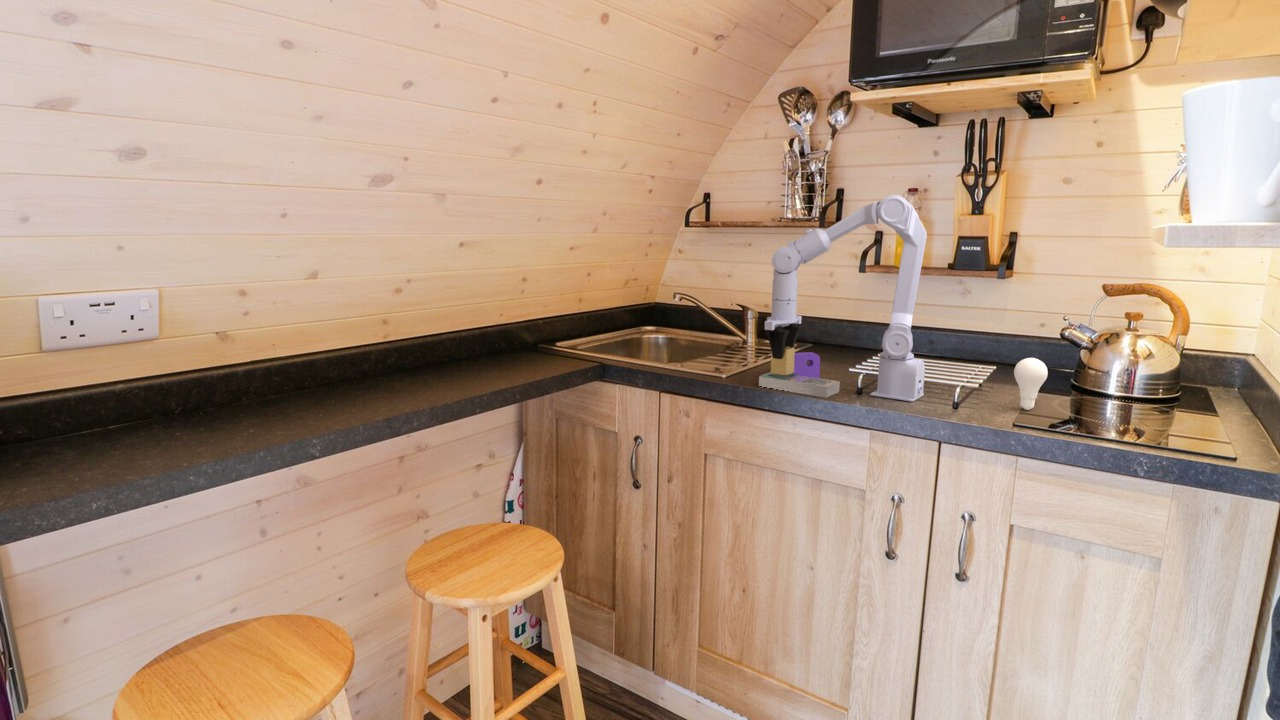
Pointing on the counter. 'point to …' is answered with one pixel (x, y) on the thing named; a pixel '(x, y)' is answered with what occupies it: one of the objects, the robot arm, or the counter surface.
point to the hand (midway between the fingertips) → (782, 357)
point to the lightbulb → (1030, 380)
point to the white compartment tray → (800, 384)
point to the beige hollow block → (784, 362)
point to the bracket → (809, 369)
